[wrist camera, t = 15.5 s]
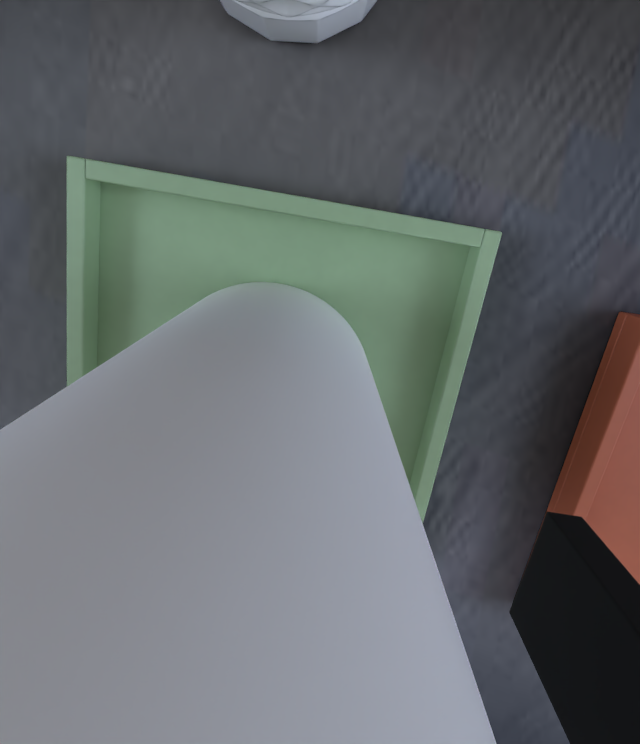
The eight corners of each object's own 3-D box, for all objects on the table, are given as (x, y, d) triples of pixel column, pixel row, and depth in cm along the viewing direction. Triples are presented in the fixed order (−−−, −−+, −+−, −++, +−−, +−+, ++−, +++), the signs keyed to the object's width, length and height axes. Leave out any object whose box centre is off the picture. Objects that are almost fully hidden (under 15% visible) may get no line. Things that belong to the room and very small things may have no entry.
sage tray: (485, 231, 17) (503, 231, 15) (401, 552, 21) (408, 579, 20) (91, 161, 16) (65, 155, 15) (86, 508, 20) (66, 532, 19)
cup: (172, 260, 17) (-1371, 650, 1) (393, 307, 17) (953, 958, 2) (150, 459, 19) (-509, 1377, 4) (344, 495, 20) (424, 1431, 4)
